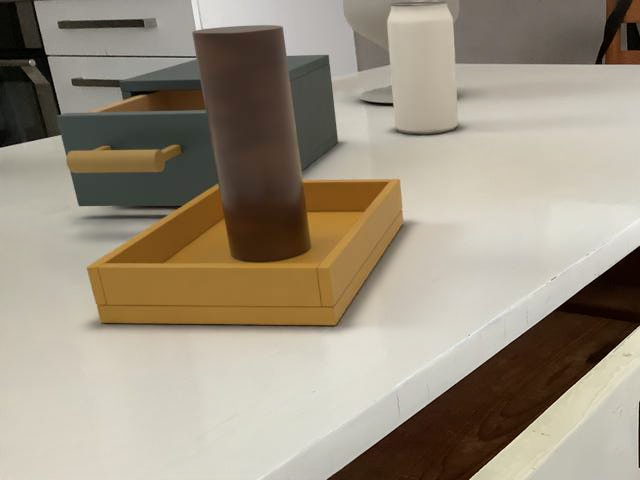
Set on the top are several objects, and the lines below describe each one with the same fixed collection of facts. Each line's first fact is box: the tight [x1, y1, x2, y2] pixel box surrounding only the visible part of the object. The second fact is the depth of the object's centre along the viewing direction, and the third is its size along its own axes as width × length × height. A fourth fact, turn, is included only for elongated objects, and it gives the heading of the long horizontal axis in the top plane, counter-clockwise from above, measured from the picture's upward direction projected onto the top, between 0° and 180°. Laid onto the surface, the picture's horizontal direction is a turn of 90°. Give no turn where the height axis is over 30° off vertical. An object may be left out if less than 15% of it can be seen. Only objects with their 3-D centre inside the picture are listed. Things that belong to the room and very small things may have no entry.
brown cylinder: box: [191, 24, 311, 262], centre depth 46 cm, size 5×5×12 cm
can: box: [387, 1, 459, 135], centre depth 84 cm, size 6×6×12 cm
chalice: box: [342, 0, 461, 104], centre depth 103 cm, size 14×14×15 cm
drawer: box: [56, 90, 218, 207], centre depth 63 cm, size 19×11×6 cm, turn 174°
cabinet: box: [118, 54, 339, 172], centre depth 74 cm, size 16×13×8 cm
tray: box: [86, 178, 404, 326], centre depth 49 cm, size 12×17×3 cm
